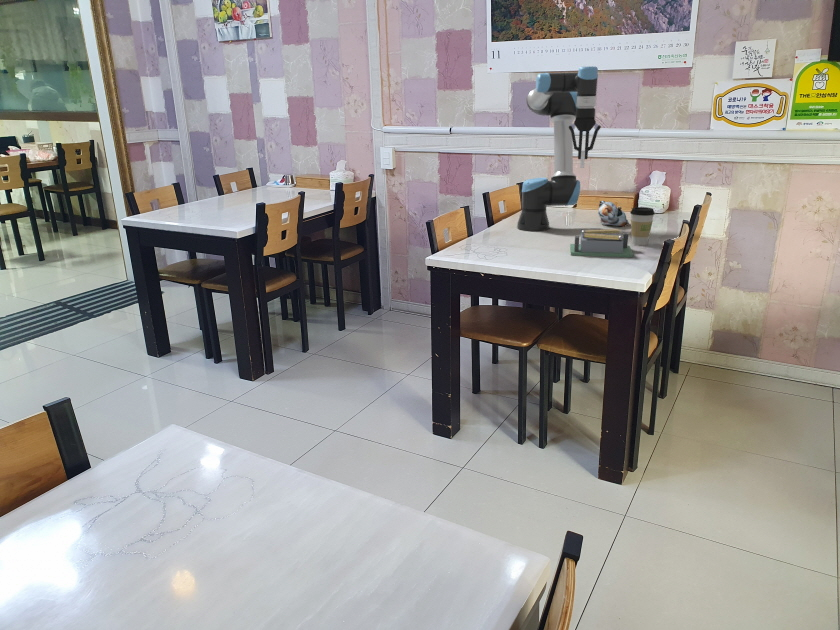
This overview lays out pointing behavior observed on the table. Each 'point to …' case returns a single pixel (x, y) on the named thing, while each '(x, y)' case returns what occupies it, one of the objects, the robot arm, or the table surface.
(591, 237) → the strap
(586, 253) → the heatsink module
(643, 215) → the coffee cup
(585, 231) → the rear strap
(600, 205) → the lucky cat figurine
